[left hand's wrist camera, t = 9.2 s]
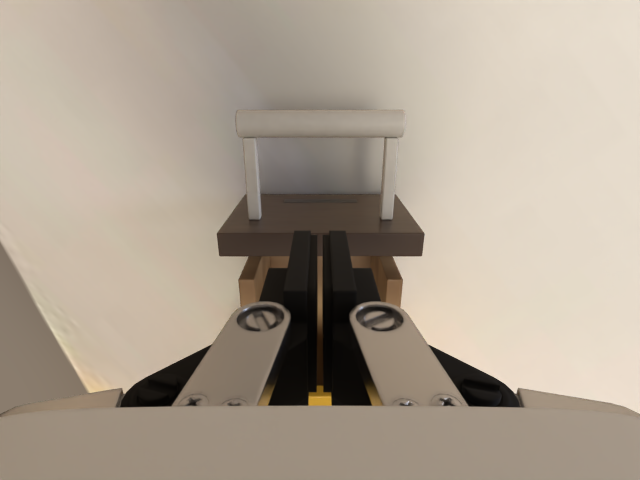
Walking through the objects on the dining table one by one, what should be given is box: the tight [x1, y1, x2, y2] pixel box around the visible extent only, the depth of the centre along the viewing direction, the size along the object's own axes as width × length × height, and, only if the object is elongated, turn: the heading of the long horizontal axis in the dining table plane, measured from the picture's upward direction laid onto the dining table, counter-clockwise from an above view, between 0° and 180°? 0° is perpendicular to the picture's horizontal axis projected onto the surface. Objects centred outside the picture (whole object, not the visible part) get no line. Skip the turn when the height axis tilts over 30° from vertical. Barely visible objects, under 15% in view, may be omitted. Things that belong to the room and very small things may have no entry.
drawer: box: [217, 110, 424, 386], centre depth 23 cm, size 22×10×7 cm, turn 0°
